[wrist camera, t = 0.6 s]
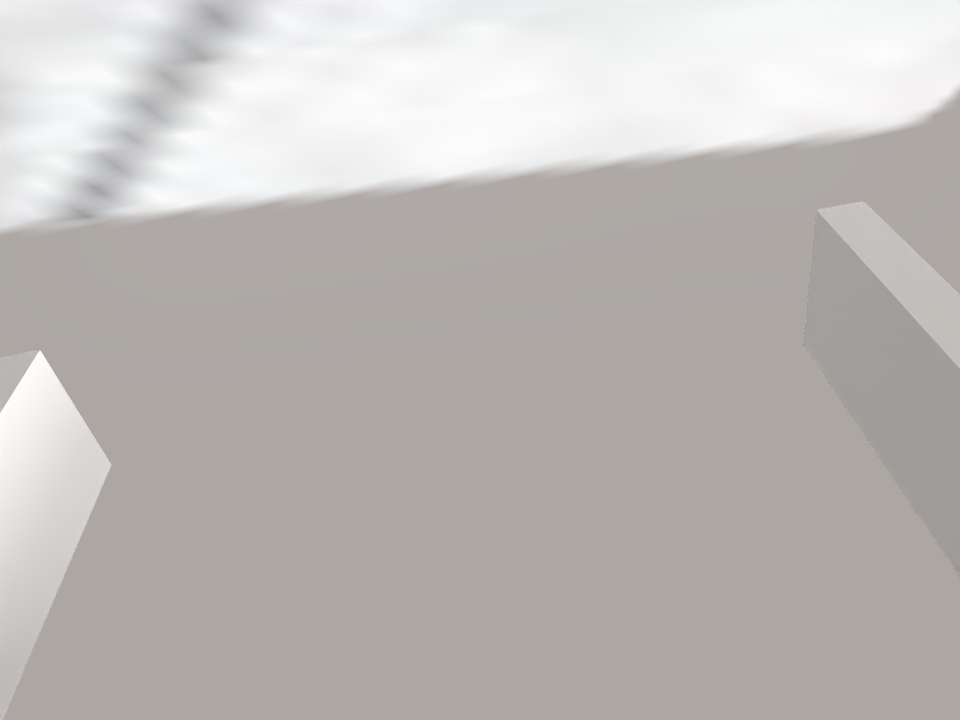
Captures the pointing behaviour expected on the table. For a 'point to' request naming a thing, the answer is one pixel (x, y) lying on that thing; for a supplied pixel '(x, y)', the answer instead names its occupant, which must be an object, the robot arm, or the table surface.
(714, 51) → the table surface
